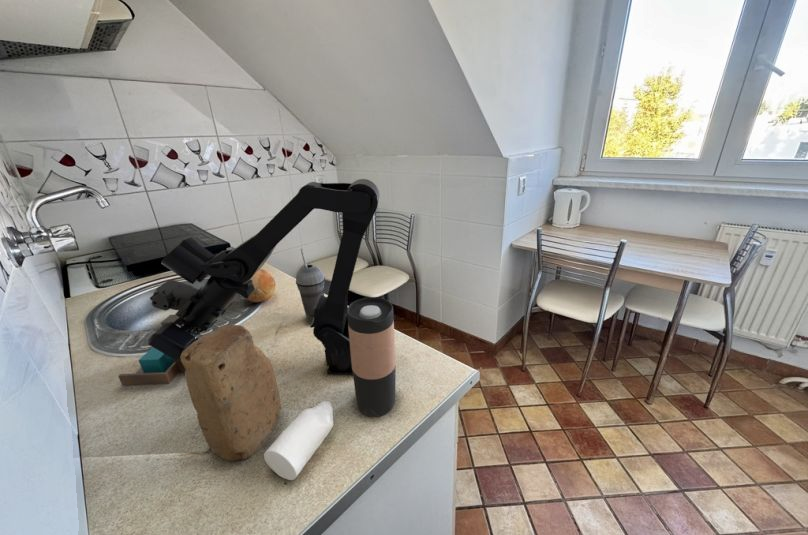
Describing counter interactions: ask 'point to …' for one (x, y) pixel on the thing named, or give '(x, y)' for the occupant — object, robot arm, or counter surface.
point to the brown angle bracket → (155, 378)
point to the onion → (262, 286)
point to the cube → (155, 361)
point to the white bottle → (300, 441)
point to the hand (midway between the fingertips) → (174, 345)
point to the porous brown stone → (232, 391)
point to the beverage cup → (310, 287)
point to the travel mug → (372, 354)
